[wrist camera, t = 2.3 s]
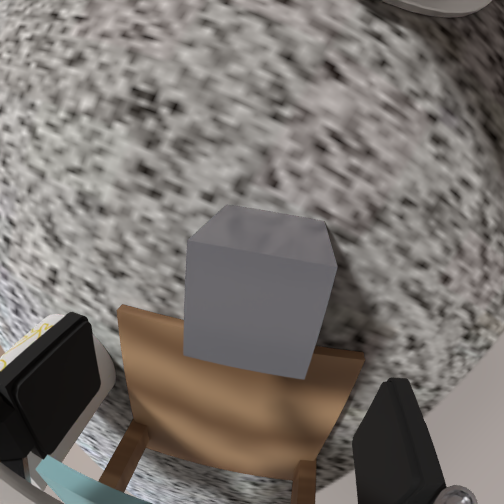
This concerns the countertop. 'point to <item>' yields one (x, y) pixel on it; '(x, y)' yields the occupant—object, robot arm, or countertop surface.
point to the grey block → (257, 290)
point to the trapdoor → (80, 486)
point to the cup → (107, 383)
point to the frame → (225, 407)
